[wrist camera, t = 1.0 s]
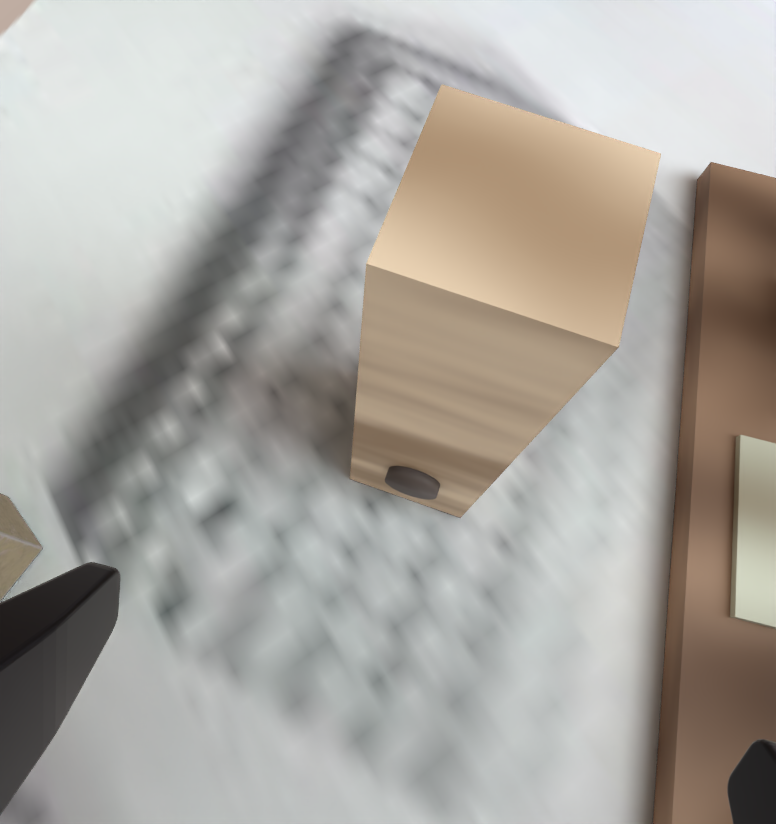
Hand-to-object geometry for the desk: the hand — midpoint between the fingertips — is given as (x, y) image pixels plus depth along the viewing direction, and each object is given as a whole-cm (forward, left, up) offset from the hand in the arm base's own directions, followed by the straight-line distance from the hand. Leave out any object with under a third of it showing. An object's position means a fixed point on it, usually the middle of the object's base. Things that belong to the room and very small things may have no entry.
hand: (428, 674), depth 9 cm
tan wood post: (+8, +1, -14) cm, 16 cm away
